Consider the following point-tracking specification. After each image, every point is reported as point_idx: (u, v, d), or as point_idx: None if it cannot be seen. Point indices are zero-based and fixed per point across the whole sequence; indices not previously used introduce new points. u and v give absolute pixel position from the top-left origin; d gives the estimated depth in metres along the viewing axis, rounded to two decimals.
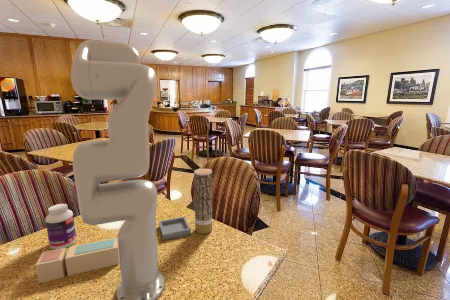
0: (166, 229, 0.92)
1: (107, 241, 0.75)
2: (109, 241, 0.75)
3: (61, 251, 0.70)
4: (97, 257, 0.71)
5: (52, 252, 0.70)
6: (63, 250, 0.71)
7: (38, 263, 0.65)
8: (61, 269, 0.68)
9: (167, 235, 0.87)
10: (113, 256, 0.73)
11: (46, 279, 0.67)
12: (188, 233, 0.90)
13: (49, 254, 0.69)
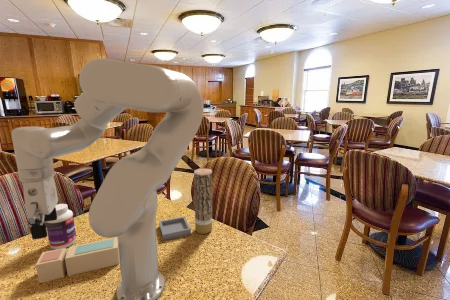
0: (166, 229, 0.92)
1: (107, 241, 0.75)
2: (109, 241, 0.75)
3: (61, 251, 0.70)
4: (97, 257, 0.71)
5: (52, 252, 0.70)
6: (63, 250, 0.71)
7: (38, 263, 0.65)
8: (61, 269, 0.68)
9: (167, 235, 0.87)
10: (113, 256, 0.73)
11: (46, 279, 0.67)
12: (188, 233, 0.90)
13: (49, 254, 0.69)
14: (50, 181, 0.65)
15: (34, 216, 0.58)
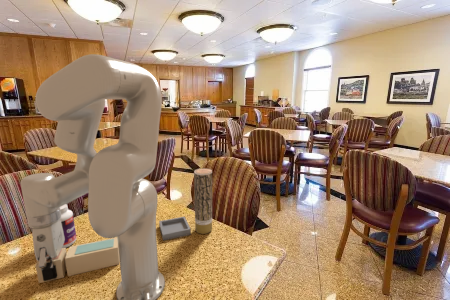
0: (166, 229, 0.92)
1: (107, 241, 0.75)
2: (109, 241, 0.75)
3: (61, 251, 0.70)
4: (97, 257, 0.71)
5: None
6: (63, 250, 0.71)
7: (38, 263, 0.65)
8: (61, 269, 0.68)
9: (167, 235, 0.87)
10: (113, 256, 0.73)
11: None
12: (188, 233, 0.90)
13: None
14: (57, 224, 0.67)
15: (45, 263, 0.62)
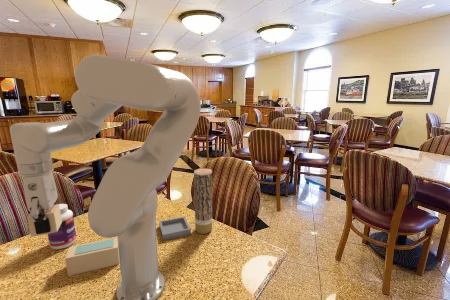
0: (166, 229, 0.92)
1: (107, 241, 0.75)
2: (109, 241, 0.75)
3: (54, 206, 0.68)
4: (97, 257, 0.71)
5: None
6: (56, 206, 0.69)
7: (29, 215, 0.63)
8: (54, 223, 0.65)
9: (167, 235, 0.87)
10: (113, 256, 0.73)
11: None
12: (188, 233, 0.90)
13: None
14: (50, 176, 0.65)
15: (37, 213, 0.60)
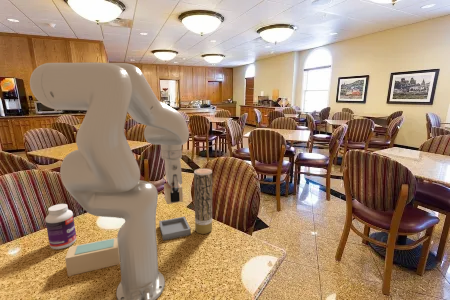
0: (166, 229, 0.92)
1: (107, 241, 0.75)
2: (109, 241, 0.75)
3: (178, 183, 0.91)
4: (97, 257, 0.71)
5: None
6: (178, 183, 0.92)
7: (167, 188, 0.86)
8: (181, 195, 0.88)
9: (167, 235, 0.87)
10: (113, 256, 0.73)
11: None
12: (188, 233, 0.90)
13: None
14: None
15: (177, 186, 0.83)
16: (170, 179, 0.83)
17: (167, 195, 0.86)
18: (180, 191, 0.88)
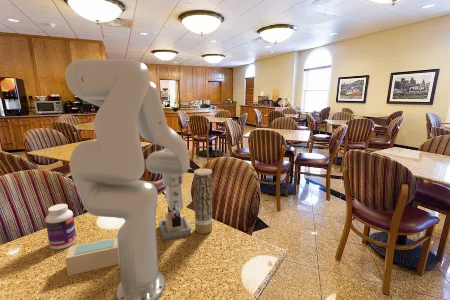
0: (166, 229, 0.92)
1: (107, 241, 0.75)
2: (109, 241, 0.75)
3: None
4: (97, 257, 0.71)
5: None
6: None
7: (168, 219, 0.88)
8: (182, 224, 0.91)
9: (167, 235, 0.87)
10: (113, 256, 0.73)
11: (172, 231, 0.90)
12: (188, 233, 0.90)
13: (171, 214, 0.92)
14: None
15: None
16: (171, 205, 0.85)
17: (168, 225, 0.88)
18: (181, 221, 0.90)
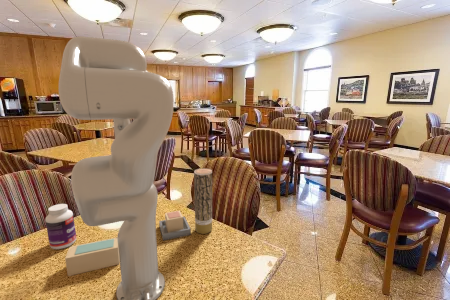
0: (166, 229, 0.92)
1: (107, 241, 0.75)
2: (109, 241, 0.75)
3: (178, 212, 0.93)
4: (97, 257, 0.71)
5: (172, 212, 0.93)
6: (179, 212, 0.94)
7: (168, 219, 0.88)
8: (182, 224, 0.91)
9: (167, 235, 0.87)
10: (113, 256, 0.73)
11: (172, 231, 0.90)
12: (188, 233, 0.90)
13: (171, 214, 0.92)
14: (130, 122, 0.81)
15: None
16: None
17: (168, 225, 0.88)
18: (181, 221, 0.90)
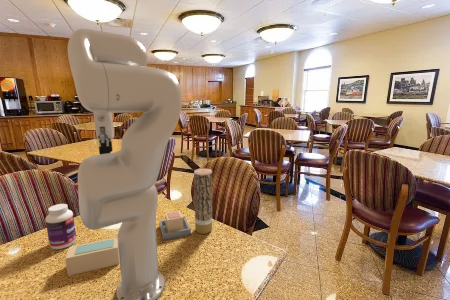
0: (166, 229, 0.92)
1: (107, 241, 0.75)
2: (109, 241, 0.75)
3: (178, 212, 0.93)
4: (97, 257, 0.71)
5: (172, 212, 0.93)
6: (179, 212, 0.94)
7: (168, 219, 0.88)
8: (182, 224, 0.91)
9: (167, 235, 0.87)
10: (113, 256, 0.73)
11: (172, 231, 0.90)
12: (188, 233, 0.90)
13: (171, 214, 0.92)
14: (111, 114, 0.79)
15: (104, 136, 0.73)
16: (97, 132, 0.75)
17: (168, 225, 0.88)
18: (181, 221, 0.90)
